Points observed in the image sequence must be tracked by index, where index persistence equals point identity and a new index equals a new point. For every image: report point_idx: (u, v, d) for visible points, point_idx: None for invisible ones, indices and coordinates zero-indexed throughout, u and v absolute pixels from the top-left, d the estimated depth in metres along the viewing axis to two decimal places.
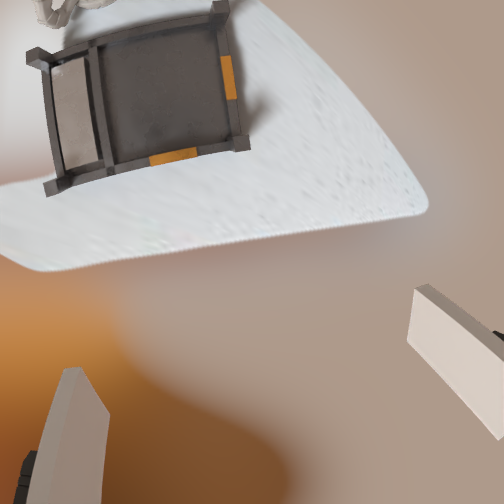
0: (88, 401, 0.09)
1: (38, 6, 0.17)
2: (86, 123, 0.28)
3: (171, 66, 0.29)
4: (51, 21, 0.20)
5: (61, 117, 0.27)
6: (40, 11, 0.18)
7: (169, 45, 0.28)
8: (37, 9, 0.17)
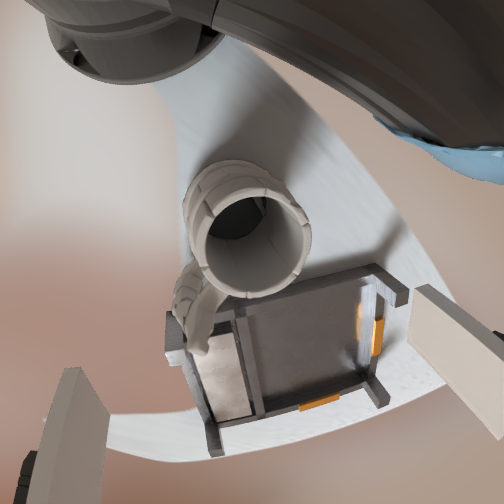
0: (88, 401, 0.09)
1: None
2: (240, 391, 0.30)
3: (324, 324, 0.32)
4: None
5: (210, 387, 0.29)
6: None
7: (324, 302, 0.31)
8: None
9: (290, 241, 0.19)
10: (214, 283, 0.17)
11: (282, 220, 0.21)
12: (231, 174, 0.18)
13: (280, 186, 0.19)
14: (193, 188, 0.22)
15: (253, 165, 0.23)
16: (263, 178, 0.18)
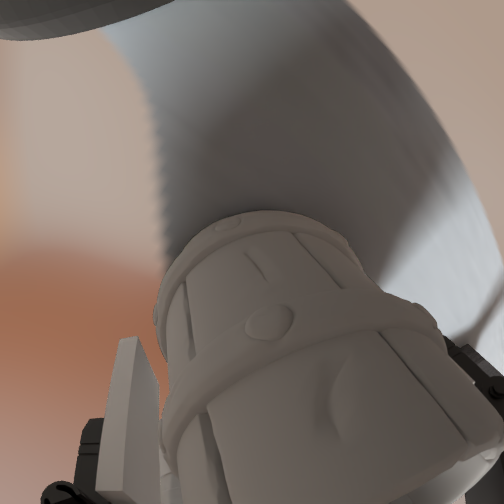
0: (144, 369, 0.11)
1: None
2: None
3: None
4: None
5: None
6: None
7: None
8: None
9: None
10: None
11: None
12: (298, 324, 0.05)
13: (432, 334, 0.05)
14: (173, 289, 0.09)
15: (317, 227, 0.10)
16: (399, 325, 0.05)
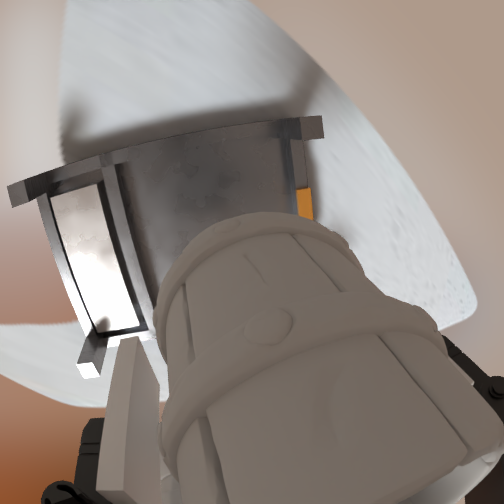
0: (145, 369, 0.11)
1: None
2: (116, 281, 0.23)
3: (226, 195, 0.25)
4: None
5: (79, 270, 0.22)
6: None
7: (221, 161, 0.24)
8: None
9: None
10: None
11: None
12: (297, 328, 0.05)
13: (432, 337, 0.05)
14: (173, 292, 0.09)
15: (316, 228, 0.10)
16: (399, 328, 0.05)
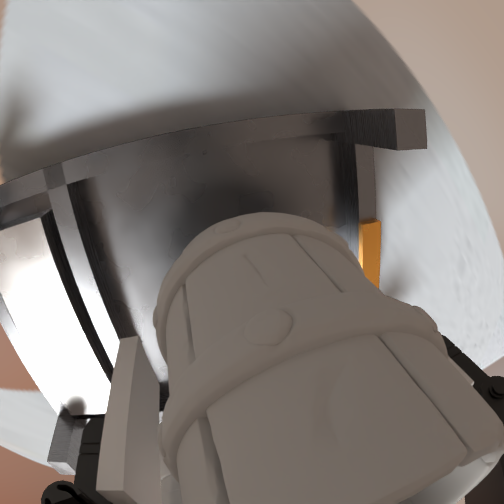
0: (145, 369, 0.11)
1: None
2: (86, 360, 0.14)
3: None
4: None
5: (33, 342, 0.13)
6: None
7: (243, 176, 0.15)
8: None
9: None
10: None
11: None
12: (297, 328, 0.05)
13: (432, 337, 0.05)
14: (173, 292, 0.09)
15: (316, 229, 0.10)
16: (399, 329, 0.05)
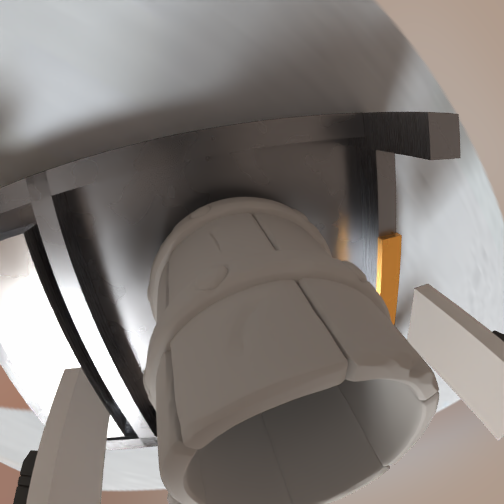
0: (88, 401, 0.09)
1: None
2: None
3: None
4: None
5: (23, 366, 0.12)
6: None
7: (251, 186, 0.13)
8: None
9: (374, 389, 0.08)
10: None
11: None
12: (229, 276, 0.07)
13: (357, 285, 0.07)
14: (160, 269, 0.11)
15: (275, 207, 0.11)
16: (316, 275, 0.07)
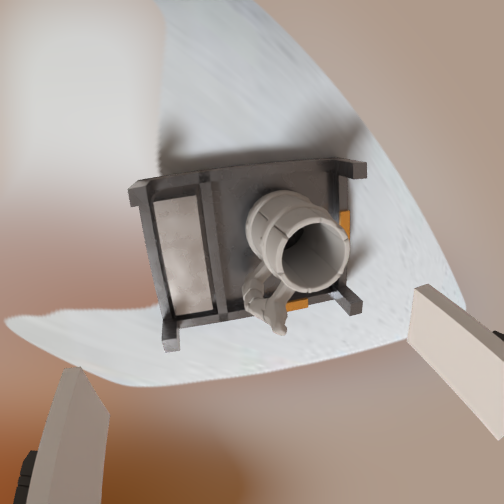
0: (88, 401, 0.09)
1: None
2: (201, 273, 0.31)
3: None
4: None
5: (170, 263, 0.30)
6: None
7: (287, 186, 0.32)
8: None
9: (333, 251, 0.27)
10: (287, 284, 0.25)
11: (324, 235, 0.29)
12: (291, 206, 0.26)
13: (325, 212, 0.26)
14: (255, 214, 0.30)
15: (298, 194, 0.30)
16: (313, 207, 0.26)
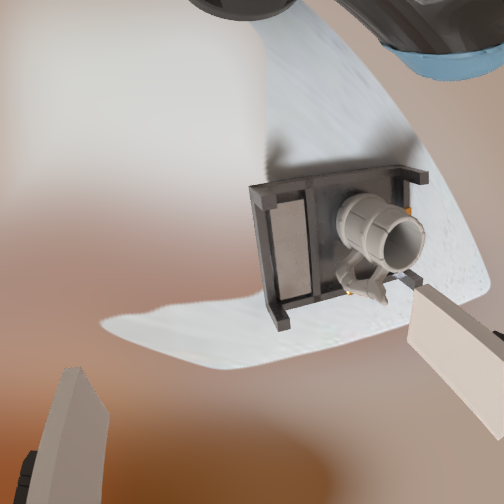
0: (88, 401, 0.09)
1: None
2: (304, 262, 0.38)
3: None
4: None
5: (280, 255, 0.37)
6: None
7: (365, 189, 0.38)
8: (363, 296, 0.33)
9: (410, 240, 0.33)
10: (385, 266, 0.31)
11: (400, 228, 0.35)
12: (383, 207, 0.32)
13: (404, 212, 0.32)
14: (347, 213, 0.36)
15: (377, 196, 0.36)
16: (397, 208, 0.32)
